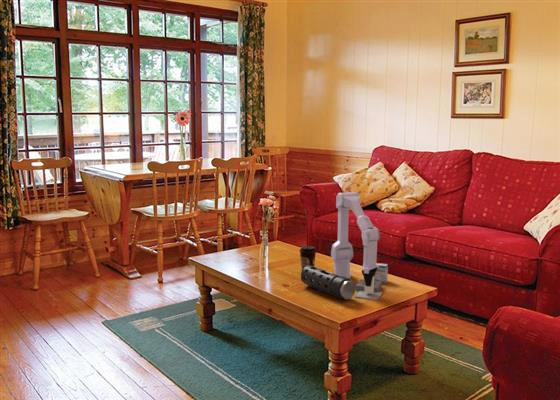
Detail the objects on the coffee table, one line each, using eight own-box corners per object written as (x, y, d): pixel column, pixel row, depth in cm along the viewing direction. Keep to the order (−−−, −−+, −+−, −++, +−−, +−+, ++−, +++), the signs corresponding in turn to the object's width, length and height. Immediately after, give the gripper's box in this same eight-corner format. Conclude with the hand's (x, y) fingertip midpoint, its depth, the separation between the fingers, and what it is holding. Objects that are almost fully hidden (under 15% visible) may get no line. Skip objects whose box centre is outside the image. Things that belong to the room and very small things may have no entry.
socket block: (360, 284, 260) (360, 279, 259) (381, 286, 256) (381, 281, 256) (355, 290, 250) (355, 285, 250) (377, 293, 247) (377, 288, 246)
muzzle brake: (315, 284, 261) (315, 263, 259) (356, 300, 238) (357, 277, 237) (299, 287, 255) (300, 266, 253) (340, 305, 233) (341, 281, 231)
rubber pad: (360, 290, 251) (360, 289, 251) (382, 293, 247) (382, 292, 247) (355, 297, 241) (355, 296, 241) (377, 300, 238) (377, 299, 238)
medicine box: (369, 281, 264) (370, 264, 262) (371, 279, 268) (371, 262, 266) (386, 283, 261) (386, 266, 260) (387, 280, 265) (388, 263, 264)
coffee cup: (307, 275, 274) (307, 250, 272) (295, 271, 280) (295, 247, 278) (319, 271, 279) (319, 247, 277) (307, 268, 286) (308, 244, 283)
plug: (365, 290, 246) (366, 272, 245) (373, 291, 245) (374, 273, 244) (364, 292, 243) (364, 274, 242) (372, 293, 242) (372, 275, 240)
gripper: (375, 260, 233) (374, 290, 235) (382, 252, 246) (381, 281, 249) (359, 258, 236) (358, 288, 238) (366, 250, 249) (366, 279, 251)
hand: (369, 284), depth 243 cm, fingers closed on plug, 4 cm apart
